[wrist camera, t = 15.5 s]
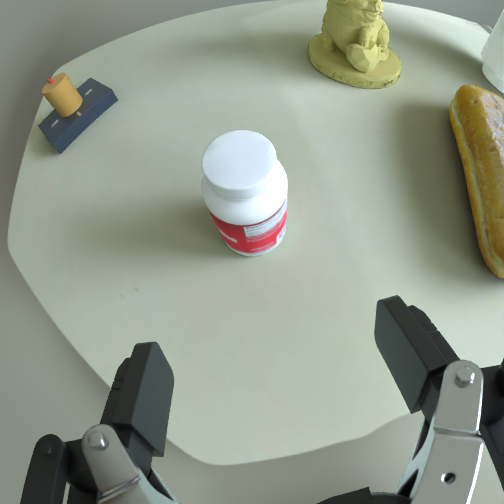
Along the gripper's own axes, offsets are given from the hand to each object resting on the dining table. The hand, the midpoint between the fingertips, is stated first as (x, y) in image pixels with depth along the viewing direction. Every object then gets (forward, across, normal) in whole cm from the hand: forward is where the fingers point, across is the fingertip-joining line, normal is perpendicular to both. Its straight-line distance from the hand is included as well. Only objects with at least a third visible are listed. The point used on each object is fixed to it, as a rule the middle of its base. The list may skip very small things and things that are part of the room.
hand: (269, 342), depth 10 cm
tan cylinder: (+35, +24, -17) cm, 46 cm away
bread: (+19, -32, +3) cm, 37 cm away
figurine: (+36, -20, -14) cm, 44 cm away
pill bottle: (+19, 0, +3) cm, 19 cm away
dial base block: (+37, +24, -15) cm, 46 cm away
